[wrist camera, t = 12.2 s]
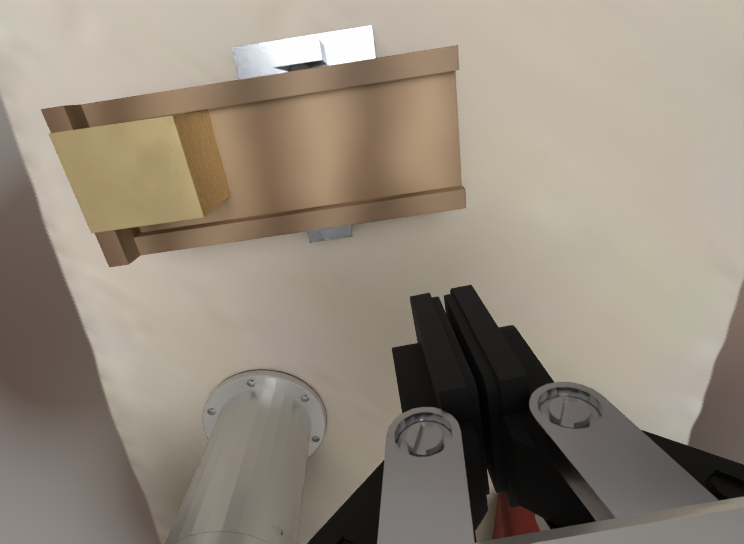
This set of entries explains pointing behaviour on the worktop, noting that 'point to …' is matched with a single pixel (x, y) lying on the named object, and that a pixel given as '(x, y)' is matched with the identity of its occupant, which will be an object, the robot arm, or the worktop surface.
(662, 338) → the worktop surface
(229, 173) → the board
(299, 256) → the worktop surface
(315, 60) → the pivot stand
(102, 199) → the block
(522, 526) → the plant pot
